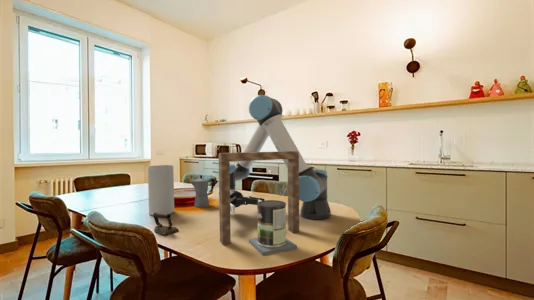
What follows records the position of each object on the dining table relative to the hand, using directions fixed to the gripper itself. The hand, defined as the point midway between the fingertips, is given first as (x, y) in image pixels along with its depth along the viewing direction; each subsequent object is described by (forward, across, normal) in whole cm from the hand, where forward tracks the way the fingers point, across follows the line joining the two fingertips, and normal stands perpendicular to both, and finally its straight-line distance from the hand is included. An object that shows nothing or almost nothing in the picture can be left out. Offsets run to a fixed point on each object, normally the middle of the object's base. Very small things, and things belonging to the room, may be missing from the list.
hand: (249, 207), depth 110 cm
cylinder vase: (-50, +31, -10) cm, 59 cm away
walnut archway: (+7, -2, -10) cm, 12 cm away
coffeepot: (-58, +8, -10) cm, 59 cm away
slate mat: (+17, -2, -10) cm, 20 cm away
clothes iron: (-17, +32, -10) cm, 38 cm away
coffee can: (+17, -2, -9) cm, 19 cm away
